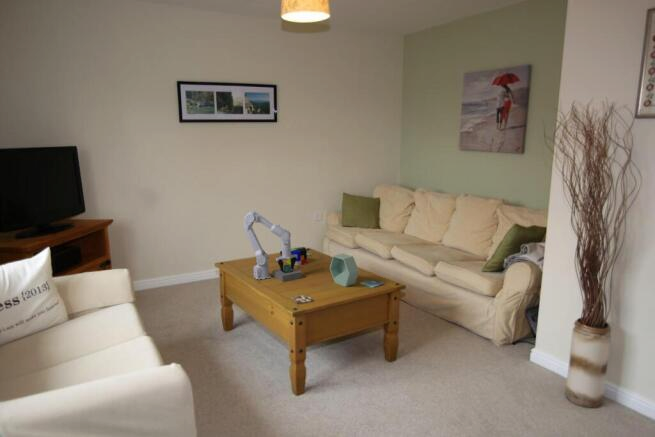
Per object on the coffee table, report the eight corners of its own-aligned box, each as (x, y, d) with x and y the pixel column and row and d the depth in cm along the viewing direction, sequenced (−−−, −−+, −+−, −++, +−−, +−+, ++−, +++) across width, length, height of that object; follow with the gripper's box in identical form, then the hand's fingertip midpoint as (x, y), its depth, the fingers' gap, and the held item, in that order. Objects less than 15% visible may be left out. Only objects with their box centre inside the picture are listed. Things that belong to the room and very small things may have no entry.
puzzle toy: (298, 266, 331) (297, 252, 330) (287, 264, 337) (286, 250, 336) (307, 262, 339) (306, 249, 337) (296, 260, 345) (296, 247, 343)
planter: (338, 291, 291) (326, 260, 297) (347, 288, 296) (335, 258, 302) (352, 282, 279) (340, 250, 284) (362, 279, 283) (349, 248, 289)
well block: (282, 281, 297) (282, 275, 296) (273, 276, 309) (272, 270, 308) (302, 277, 304) (301, 271, 304) (291, 272, 316) (291, 267, 315)
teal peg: (286, 277, 304) (285, 266, 302) (283, 275, 307) (283, 265, 305) (291, 276, 305) (290, 265, 304) (288, 274, 308) (288, 264, 307)
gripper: (279, 252, 296) (280, 273, 298) (299, 249, 304) (299, 269, 306) (274, 250, 302) (275, 270, 304) (294, 247, 309) (294, 266, 312)
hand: (287, 269), depth 306 cm, fingers open, 7 cm apart
